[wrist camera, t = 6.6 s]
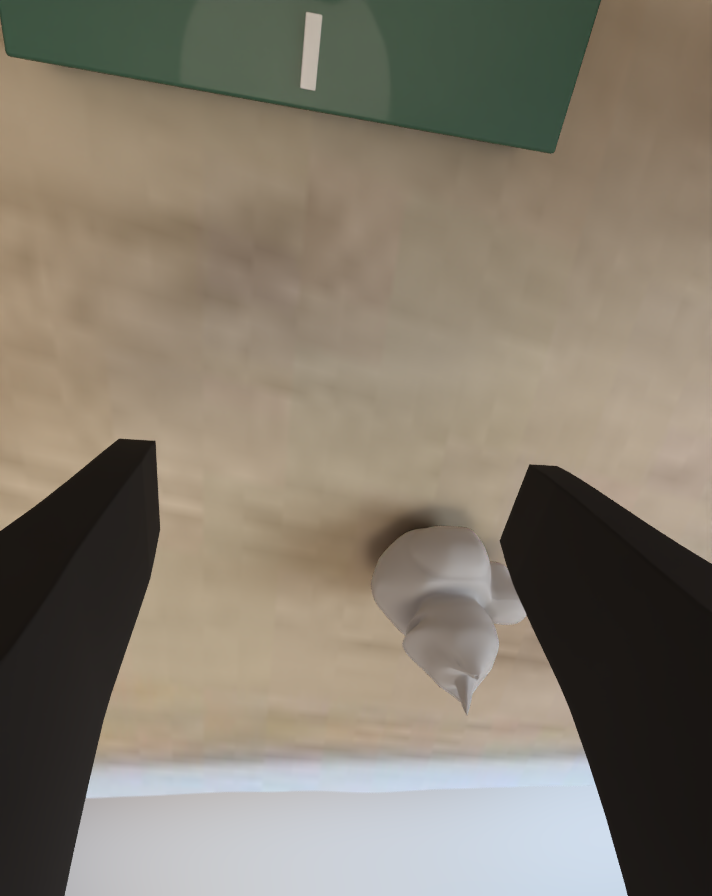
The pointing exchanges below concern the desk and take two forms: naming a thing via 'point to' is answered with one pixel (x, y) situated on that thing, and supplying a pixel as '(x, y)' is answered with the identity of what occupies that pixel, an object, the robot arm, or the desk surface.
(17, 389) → the desk surface
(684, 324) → the desk surface
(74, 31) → the console
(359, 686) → the desk surface
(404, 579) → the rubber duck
